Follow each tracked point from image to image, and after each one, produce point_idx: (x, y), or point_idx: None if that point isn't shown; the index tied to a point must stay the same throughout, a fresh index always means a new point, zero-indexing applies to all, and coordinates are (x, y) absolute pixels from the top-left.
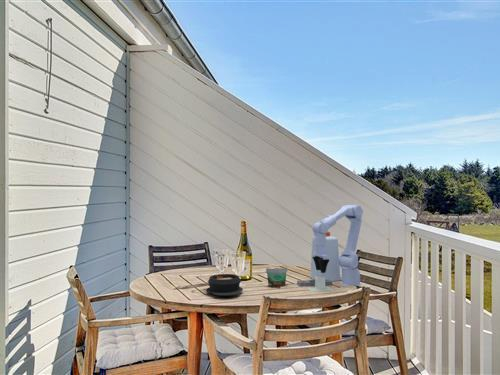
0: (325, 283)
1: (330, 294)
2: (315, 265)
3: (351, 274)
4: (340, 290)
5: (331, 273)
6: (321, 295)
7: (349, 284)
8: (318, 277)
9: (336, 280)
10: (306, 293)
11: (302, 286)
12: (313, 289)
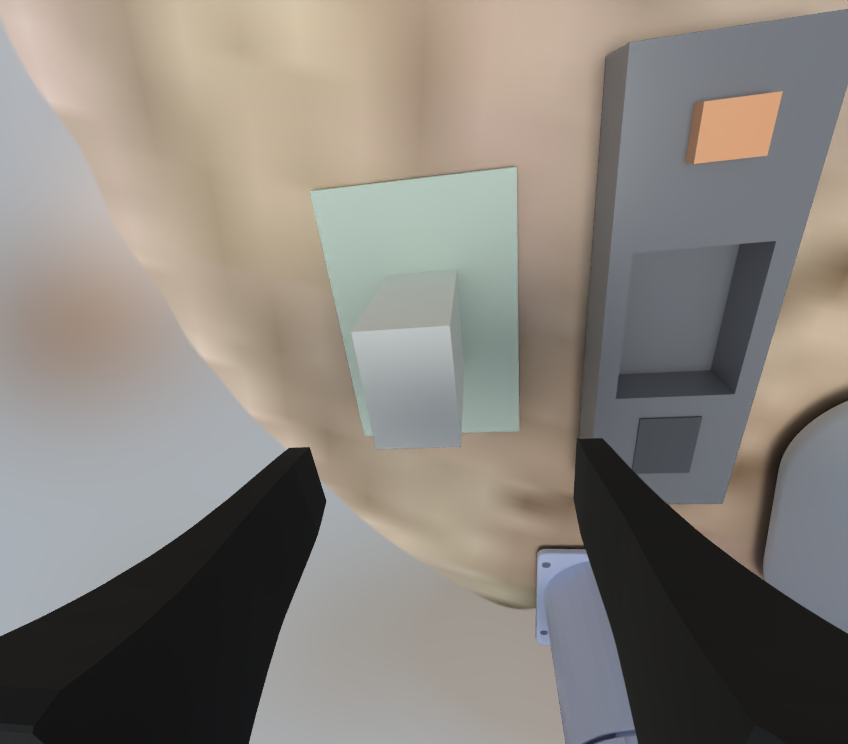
0: (589, 428)
1: (231, 364)
2: (648, 494)
3: (559, 701)
4: (394, 480)
5: (829, 598)
6: (171, 268)
7: (547, 592)
8: (389, 365)
9: (764, 562)
10: (232, 97)
11: (607, 101)
12: (394, 233)
